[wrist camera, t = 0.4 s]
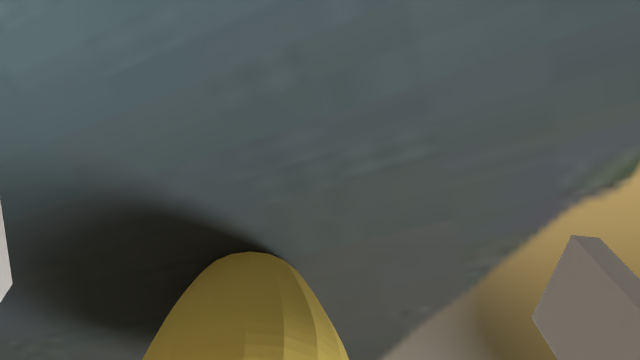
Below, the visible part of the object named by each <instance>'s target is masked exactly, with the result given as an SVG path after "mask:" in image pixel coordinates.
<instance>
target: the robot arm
mask: <svg viewBox="0 0 640 360" xmlns="http://www.w3.org/2000/svg"><path fill="white" fill-rule="evenodd" d="M11 285H12V277H11V270H10V263H9V256H8V250H7V243H6V236H5V229H4V222H3V215H2V209H1V202H0V302H1V301H2V299H3V297H4V296H5V294H6V293H7V291H8V290H9V288H10V287H11ZM531 318H532V320H533V321H534V323H535V325H536V326H537V328H538V329H539V331H540V332H541V334H542V336H543V337H544V339H545V340H546V342H547V343H548V345H549V347H550V348H551V350H552V351H553V353H554V355H555V356H556V358H557V359H558V360H640V279H639V278H638V277H637V276H636V275H635V274H634V273H633V272H632V271H631V270H630V269H629V268H628V267H627V266H626V265H625V264H624V263H623V262H622V261H621V260H620V259H619V258H618V257H617V256H616V255H615V254H614V253H613V251H611V249H609V247H608V246H607V245H606V244H604V242H603V241H602V240H601V239H600V238H595V237H585V236H574V235H572V236H571V238H570V240H569V242H568V244H567V246H566V248H565V250H564V252H563V254H562V256H561V258H560V260H559V262H558V264H557V266H556V268H555V270H554V272H553V274H552V276H551V279H550V280H549V282H548V284H547V287H546V289H545V291H544V293H543V295H542V297H541V299H540V301H539V303H538V305H537V307H536V309H535V311H534V313H533V315H532V317H531Z"/></svg>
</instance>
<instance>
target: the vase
mask: <svg viewBox="0 0 640 360" xmlns="http://www.w3.org/2000/svg"><path fill="white" fill-rule="evenodd" d="M142 360H349V358H348V356H347V353H346V351H345V349H344V346H343V344H342V342H341V340H340V338H339V336H338V334H337V332H336V330H335V328H334V327H333V325H332V323H331V321H330V320H329V318H328V316H327V315H326V313H325V311H324V309H323V308H322V306H321V304H320V303H319V301H318V299H317V298H316V296H315V295H314V293H313V292H312V290H311V289H310V287H309V286H308V284H307V283H306V282H305V280H304V279H303V278H302V276H301V275H300V274H299V273H298V271H297V270H296V269H294V268H293V267H292V266H291V265H290V264H288V263H287V262H286V261H285V260H283V259H280V258H278V257H275V256H273V255H270V254H267V253H259V252H251V251H249V252H242V253H234V254H230V255H228V256H225V257H223V258H220V259H218V260H216V261H214V262H213V263H212V264H211V265H209V266H208V267H207V268H206V269H205V270H203V271H202V272H201V273H200V274H199V276H198V277H197V278H196V279H195V280H194V281H193V282H192V284H191V285H190V286H189V287H188V288H187V290H186V291H185V292H184V293H183V295H182V296H181V297H180V299H179V300H178V301H177V303H176V304H175V305H174V307H173V308H172V310H171V311H170V313H169V314H168V316H167V317H166V319H165V321H164V322H163V324H162V326H161V328H160V329H159V331H158V333H157V334H156V336H155V338H154V339H153V341H152V343H151V345H150V346H149V348H148V350H147V352H146V354H145V355H144V357H143V359H142Z"/></svg>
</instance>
